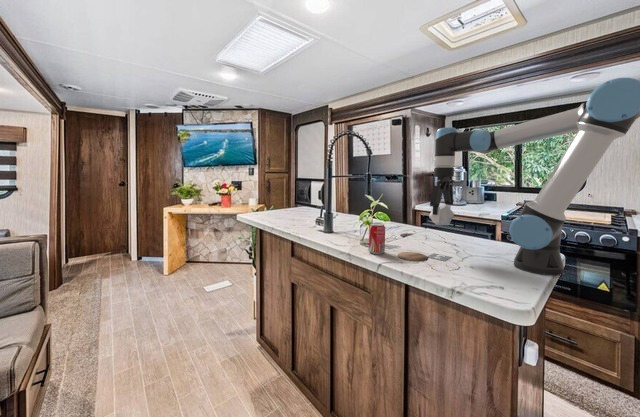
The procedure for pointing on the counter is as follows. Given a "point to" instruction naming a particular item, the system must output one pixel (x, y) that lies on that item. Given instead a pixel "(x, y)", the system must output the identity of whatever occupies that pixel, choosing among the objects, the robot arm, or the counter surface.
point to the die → (444, 215)
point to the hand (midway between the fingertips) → (441, 221)
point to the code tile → (439, 257)
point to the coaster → (412, 256)
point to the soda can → (377, 238)
